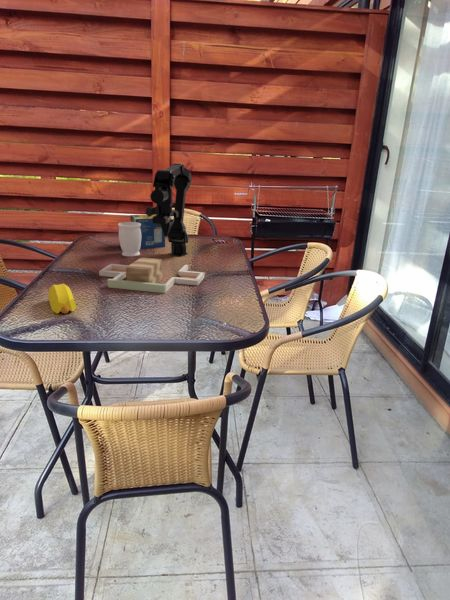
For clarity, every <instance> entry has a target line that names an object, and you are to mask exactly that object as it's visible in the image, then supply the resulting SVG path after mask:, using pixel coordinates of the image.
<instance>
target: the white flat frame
mask: <svg viewBox="0 0 450 600" xmlns="http://www.w3.org/2000/svg"><path fill="white" fill-rule="evenodd" d="M129 265H130V264H129ZM129 265H127V264H118V263H110V264H108V265H107V266H105V267H103V268H102V269H100V270H99V271H98V274H99V276H100V277H110V278H107V281H106V282H107V288H110V289H111V288H113V289H121V290H131V291H132V290H133V291H138V292H139V291H140V292H151V293H158V294H166V293H167V292H168V291H169V290H170V289H171V288H172V286H174V285H175V284H178V285H179V284H180V285H191V286H199V285H200V283H201V282H202V281H203V280H204V279H205V277H206V276H205V275H206V272H202V271H193V270H192V271H190V270H189V266H190V265H189V264H184V265H183V266H182V267H181V268H180V269H179V270H178V272H177V273H178V276H179V277H178V276H172V277H171V278H169V279H168V280H167V281H166V283H158V282H157V283H147V282H137V281H127V279H125V278H127V275H126V267H127V266H129ZM111 277H112V278H111ZM124 279H125V280H124Z"/></svg>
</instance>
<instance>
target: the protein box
mask: <svg viewBox="0 0 450 600" xmlns="http://www.w3.org/2000/svg"><path fill="white" fill-rule="evenodd" d="M154 216H156V214H155V215H151V216H150V217H148V215H147V214H132V215H131V214H130V222H138V223H141V226H140V229H141V246H140V250H147V249H159V248H166V236H164V233H163V230H162V227H161V225H160V224H156V223H152V218H153V217H154Z"/></svg>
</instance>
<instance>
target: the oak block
mask: <svg viewBox="0 0 450 600" xmlns="http://www.w3.org/2000/svg"><path fill="white" fill-rule="evenodd" d="M162 278H163V258H151V257H145V256H144V257H143V256H142V257H139V258H138V259H136V260H135V261H133V262H132V263H130V264H129V266H127V267H126V280H127V281H137V282H147V283H157V284H158V282H159V281H161V280H162Z"/></svg>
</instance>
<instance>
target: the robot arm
mask: <svg viewBox="0 0 450 600" xmlns="http://www.w3.org/2000/svg"><path fill="white" fill-rule="evenodd" d="M192 179H193V177H192V173H191V171H190V170H189V169H188V168H186V167H185V164H183V163H172V165H170V166H169V167H167V168H166V169H157V171H156V172H155V174H154V179H153V182H152V183H153V184H152V188H154V189H153V190H152V191H151V192H150V196H149V197H150V200H151V202H152V203H154V204H156V205H155V206H153V207H151V206H147V207H146V208H145V210H144V211H145V214H144V215H146V214H147V215H148V217H150V216H151V215H155V214H156V216H154V217H153V218H152V223H156V224H160V225H161V227H162V230H163V233H164V236H165V237H167V240H168V243H171V251H170V252H169V255H171V256H175V257H182V256H183V257H184V256H185V255H188V252H187V245H186V244H188V243H189V235H188V233H187V230H186V229H187V228H186V225H185V224H184V223H185V222H184V219H185V217H184V216H185V209H186V208H185V206H186V195H187V192H188V191H189V189H190V187H191V183H192V181H193V180H192ZM173 187H175V201H174V202H173ZM173 206H174V209H173ZM172 217H173V219H172Z"/></svg>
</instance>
